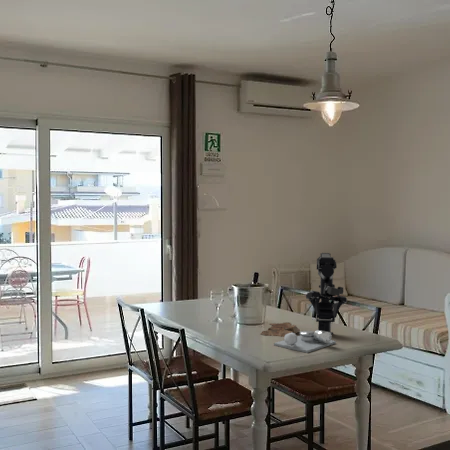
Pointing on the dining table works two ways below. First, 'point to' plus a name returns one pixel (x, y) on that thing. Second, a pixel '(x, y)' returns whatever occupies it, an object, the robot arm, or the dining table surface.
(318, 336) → the elbow
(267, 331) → the fossil
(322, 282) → the robot arm
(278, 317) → the dining table surface
